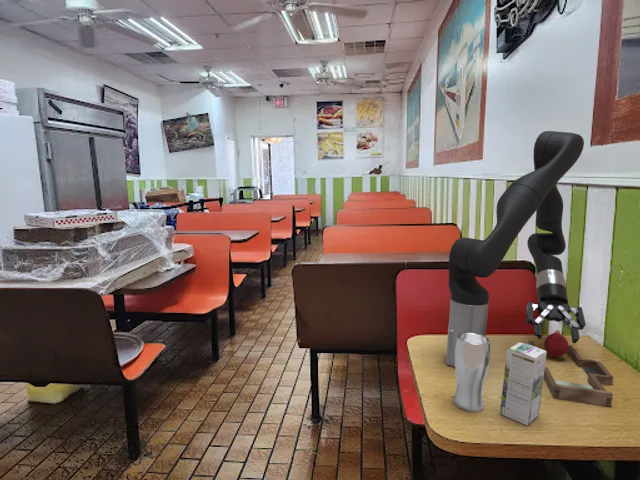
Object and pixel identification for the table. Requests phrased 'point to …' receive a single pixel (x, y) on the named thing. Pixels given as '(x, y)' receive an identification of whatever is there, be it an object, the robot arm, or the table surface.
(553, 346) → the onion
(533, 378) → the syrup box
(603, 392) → the zigzag wooden tray
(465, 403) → the beer glass
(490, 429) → the table surface
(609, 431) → the table surface
